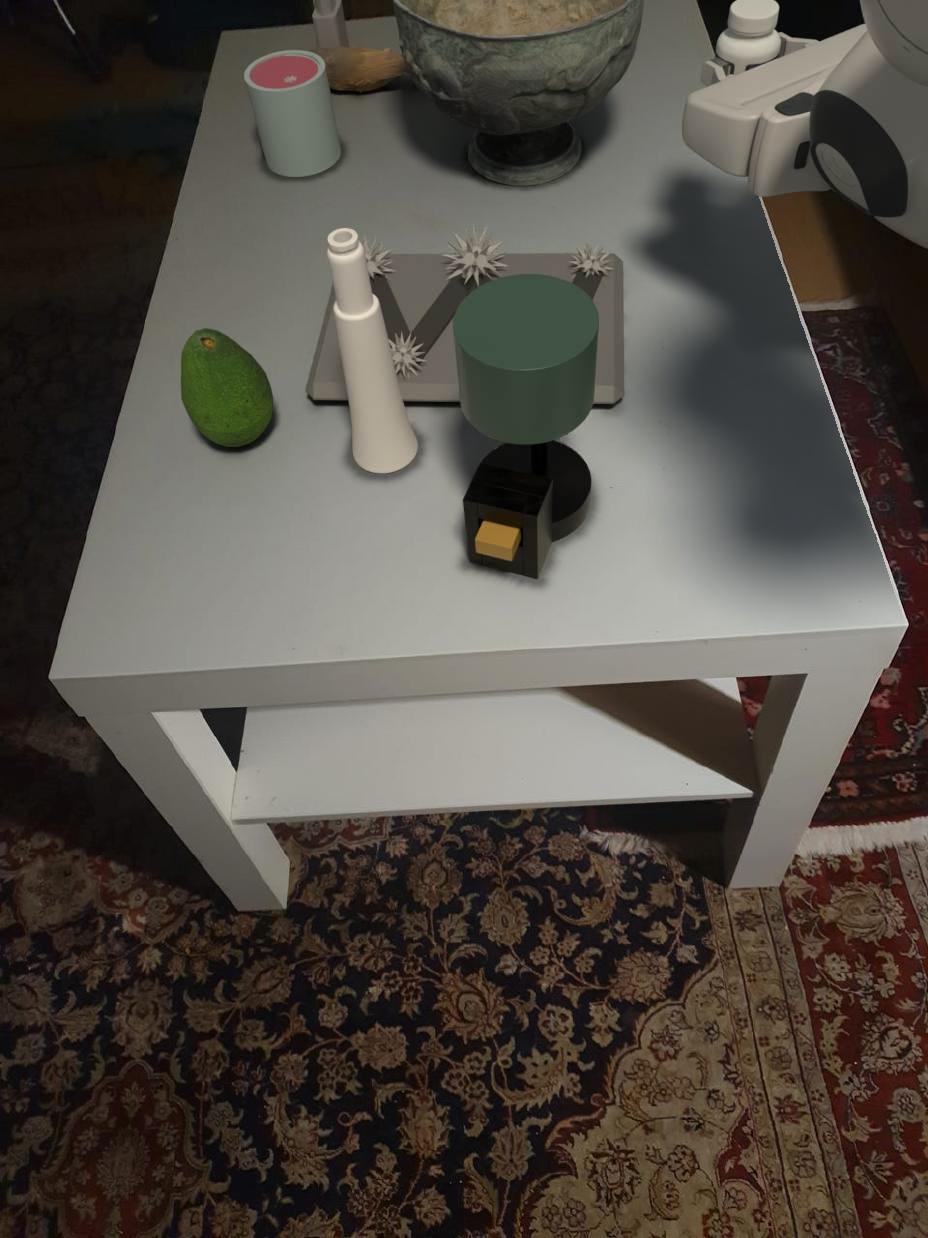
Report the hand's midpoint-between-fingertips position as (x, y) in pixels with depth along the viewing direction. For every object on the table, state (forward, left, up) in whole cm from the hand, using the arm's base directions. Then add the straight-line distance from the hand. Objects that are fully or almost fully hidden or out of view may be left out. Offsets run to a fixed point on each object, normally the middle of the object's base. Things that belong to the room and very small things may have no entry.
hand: (738, 55), depth 80 cm
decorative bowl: (+21, -18, -20) cm, 34 cm away
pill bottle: (-1, +1, -6) cm, 6 cm away
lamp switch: (+17, +43, -16) cm, 49 cm away
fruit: (+43, +29, -20) cm, 56 cm away
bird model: (+42, -33, -20) cm, 57 cm away
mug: (+48, -20, -20) cm, 56 cm away
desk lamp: (+15, +36, -20) cm, 44 cm away
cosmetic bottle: (+29, +30, -20) cm, 46 cm away
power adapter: (+48, -39, -20) cm, 65 cm away
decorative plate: (+23, +14, -20) cm, 33 cm away
